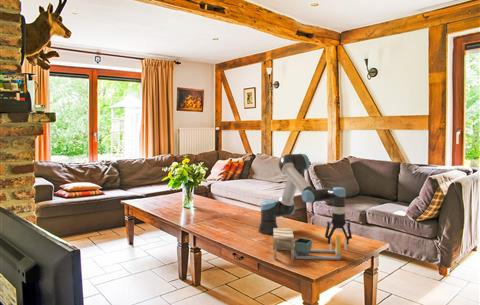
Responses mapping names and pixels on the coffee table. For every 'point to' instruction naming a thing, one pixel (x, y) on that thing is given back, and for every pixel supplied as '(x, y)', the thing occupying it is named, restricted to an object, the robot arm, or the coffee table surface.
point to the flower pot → (303, 246)
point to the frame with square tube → (336, 251)
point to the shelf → (283, 241)
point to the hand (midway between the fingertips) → (338, 249)
